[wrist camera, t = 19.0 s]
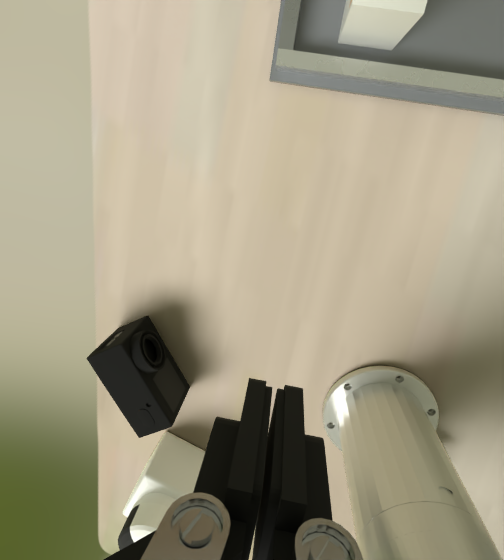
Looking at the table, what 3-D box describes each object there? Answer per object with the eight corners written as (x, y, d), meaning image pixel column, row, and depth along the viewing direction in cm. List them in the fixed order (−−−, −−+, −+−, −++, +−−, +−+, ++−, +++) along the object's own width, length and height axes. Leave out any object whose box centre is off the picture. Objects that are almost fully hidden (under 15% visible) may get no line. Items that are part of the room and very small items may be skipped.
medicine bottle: (192, 489, 49) (161, 589, 37) (144, 465, 48) (99, 559, 37) (215, 455, 46) (190, 549, 35) (166, 429, 46) (124, 517, 35)
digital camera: (199, 384, 43) (183, 424, 37) (161, 398, 45) (138, 439, 38) (156, 311, 41) (130, 339, 34) (118, 327, 42) (85, 358, 36)
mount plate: (595, -88, 27) (602, -93, 26) (521, 118, 31) (526, 117, 31) (299, -121, 28) (299, -127, 27) (269, 81, 32) (269, 80, 32)
